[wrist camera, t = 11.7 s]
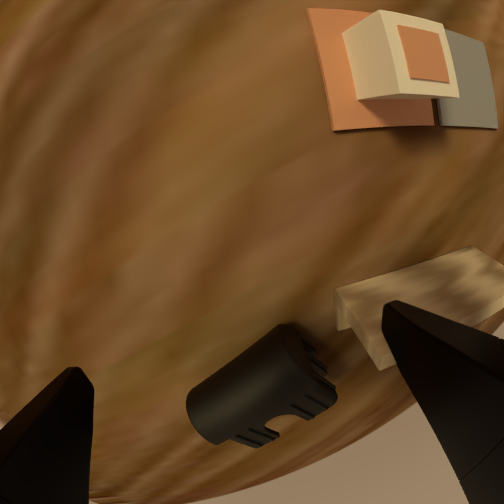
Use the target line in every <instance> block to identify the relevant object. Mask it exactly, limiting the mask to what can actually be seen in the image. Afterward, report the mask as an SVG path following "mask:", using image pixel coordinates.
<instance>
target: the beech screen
mask: <svg viewBox="0 0 504 504" xmlns="http://www.w3.org/2000/svg"><path fill="white" fill-rule="evenodd" d="M334 290H335V316H336V328H337V330H338V331H341V330H344V329H347V328H350V327H351V328H352V329H353V331H354V332H355V334H356V335H357V337H358V338H359V340H360V342H361V343H362V345H363V346H364V348H365V349H366V351H367V352H368V354H369V356H370V357H371V359H372V360H373V362H374V364H375V365H376V367H377V368H378V370H379V371H380V370H383V369H385V368H388V367H390V366H393V365H395V364H396V361H395V359H394V357H393V355H392V353H391V350H390V348H389V346H388V344H387V342H386V340H385V338H384V336H383V333H382V330H381V322H382V312H383V306H384V304H385V303H388V302H391V301H394V300H399V301H402V302H405V303H407V304H410V305H413V306H416V307H418V308H421V309H424V310H426V311H429V312H432V313H434V314H437V315H440V316H442V317H445V318H448V319H450V320H453V321H456V322H459V323H461V324H464V325H467V326H469V327H473V326H474V325H476V324H478V323H480V322H481V321H483V320H485V319H486V318H488V317H490V316H491V315H493V314H494V313H496V312H498V311H499V310H501V309H502V308H504V266H503V265H502V264H500V263H499V262H497V261H496V260H494V259H493V258H491V257H489V256H488V255H486V254H484V253H483V252H481V251H480V250H478V249H476V248H475V247H473V246H469V247H466V248H463V249H460V250H457V251H455V252H452V253H449V254H446V255H443V256H440V257H437V258H434V259H431V260H428V261H425V262H422V263H419V264H416V265H413V266H410V267H406V268H403V269H400V270H397V271H393V272H390V273H387V274H384V275H380V276H377V277H374V278H370V279H367V280H363V281H360V282H356V283H353V284H349V285H346V286H342V287H338V288H335V289H334Z"/></svg>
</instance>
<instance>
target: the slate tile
mask: <svg viewBox="0 0 504 504" xmlns="http://www.w3.org/2000/svg"><path fill="white" fill-rule="evenodd" d="M444 30H445V34H446V37H447V41H448V44H449V48H450V52H451V56H452V60H453V65H454V69H455V74H456V79H457V85H458V91H459V97H460V98H436V102H437V109H438V117H439V125H441V126H469V127H485V128H497V129H498V122H497V112H496V104H495V96H494V90H493V84H492V78H491V73H490V68H489V64H488V59H487V55H486V51H485V47H484V43H482V42H480V41H477V40H475V39H472V38H469V37H467V36H464V35H461V34H458V33H455V32H452V31H449V30H446V29H444Z"/></svg>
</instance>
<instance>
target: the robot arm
mask: <svg viewBox="0 0 504 504" xmlns="http://www.w3.org/2000/svg"><path fill="white" fill-rule="evenodd" d="M381 330H382V333H383V336H384V338H385V340H386V342H387V344H388V346H389V348H390V350H391V353H392V355H393V357H394V359H395V361H396V364H397V366H398V368H399V370H400V372H401V374H402V376H403V378H404V380H405V381H406V383H407V385H408V386H409V388H410V390H411V392H412V393H413V395H414V397H415V398H416V400H417V402H418V404H419V405H420V407H421V409H422V411H423V412H424V414H425V416H426V417H427V420H428V422H429V423H430V425H431V427H432V429H433V431H434V433H435V434H436V436H437V438H438V440H439V442H440V444H441V446H442V448H443V450H444V452H445V454H446V455H447V457H448V459H449V461H450V463H451V465H452V467H453V469H454V471H455V473H456V476H457V478H458V480H460V481H459V482H460V484H461V486H462V489H463V491H464V493H465V495H466V497H467V500H468V502H469V504H504V339H499V338H498V337H496V336H493V335H490V334H488V333H485V332H483V331H480V330H477V329H475V328H472V327H469V326H467V325H464V324H461V323H459V322H456V321H453V320H450V319H448V318H445V317H442V316H440V315H437V314H434V313H432V312H429V311H426V310H424V309H421V308H418V307H416V306H413V305H410V304H407V303H405V302H402V301H399V300H394V301H391V302H388V303H385V304H384V306H383V312H382V322H381ZM93 408H94V387H93V385H92V383H91V382H90V380H89V379H88V378H87V376H86V375H85V373H84V372H83V371H82V369H81V368H79V367H68V368H66V369H65V370H64V371H63V372H62V373H61V374H60V375H58V376H57V377H56V378H55V379H54V380H53V381H52V382H51V383H50V384H49V385H47V386H46V387H45V388H44V389H43V390H42V391H41V392H40V393H39V394H38V395H37V396H35V397H34V398H33V399H32V400H31V401H30V402H29V403H28V404H27V405H26V406H25V407H24V408H23V409H22V410H21V411H19V412H18V413H17V414H16V415H15V416H14V417H13V418H12V419H11V420H10V421H9V422H8V423H7V424H6V425H5V426H4V427H3V428H2V429H1V430H0V504H89V476H90V460H91V447H92V437H93Z"/></svg>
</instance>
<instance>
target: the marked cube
mask: <svg viewBox="0 0 504 504" xmlns="http://www.w3.org/2000/svg"><path fill="white" fill-rule="evenodd" d="M342 35H343V39H344V43H345V47H346V51H347V55H348V59H349V63H350V67H351V72H352V77H353V81H354V86H355V91H356V97H357V100H367V99H411V100H414V99H431V98H460V97H459V91H458V85H457V79H456V74H455V69H454V65H453V60H452V56H451V52H450V48H449V44H448V41H447V37H446V34H445V30H444V27H443V24H441V23H437V22H434V21H430V20H426V19H422V18H418V17H414V16H410V15H405V14H401V13H396V12H390V11H384V10H377V11H376V12H374V13H372V14H371V15H369V16H368V17H366V18H364V19H363V20H361V21H360V22H358V23H356V24H355V25H353V26H352V27H350V28H349V29H347V30H346V31H344V32H343V33H342Z"/></svg>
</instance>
